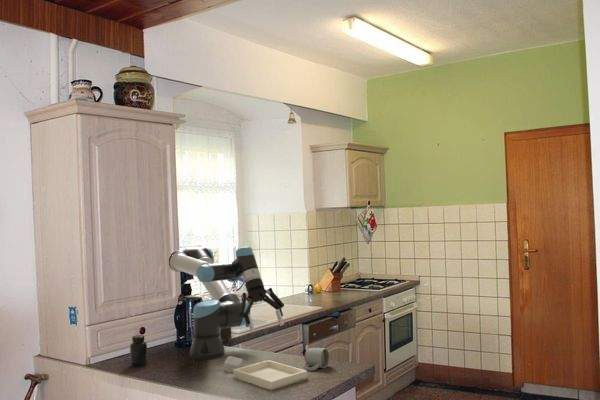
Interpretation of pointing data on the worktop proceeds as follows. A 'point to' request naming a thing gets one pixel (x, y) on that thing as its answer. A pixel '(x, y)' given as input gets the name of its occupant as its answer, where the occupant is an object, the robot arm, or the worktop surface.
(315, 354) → the ceramic mug
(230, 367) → the grey rough-textured block
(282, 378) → the tray
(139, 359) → the supplement bottle
